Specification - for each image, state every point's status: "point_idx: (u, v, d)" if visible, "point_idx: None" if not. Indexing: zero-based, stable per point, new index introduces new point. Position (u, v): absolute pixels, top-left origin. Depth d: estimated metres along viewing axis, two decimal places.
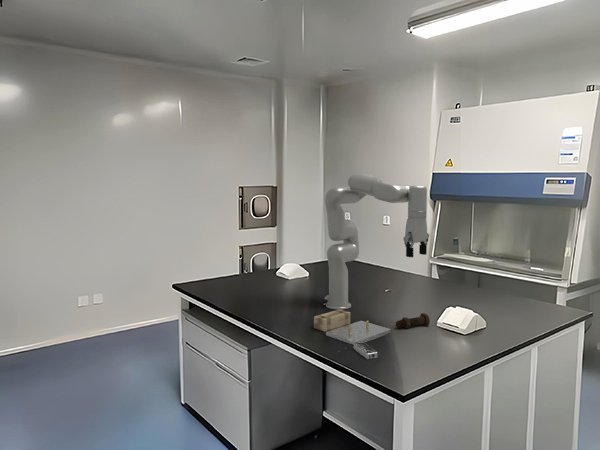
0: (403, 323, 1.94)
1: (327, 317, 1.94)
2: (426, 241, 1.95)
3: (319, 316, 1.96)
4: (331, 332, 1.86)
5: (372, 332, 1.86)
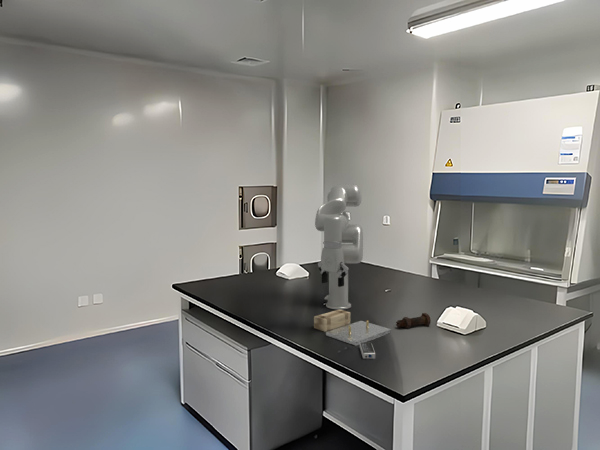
0: (404, 323, 1.94)
1: (327, 317, 1.94)
2: None
3: (319, 316, 1.96)
4: (331, 332, 1.86)
5: (372, 332, 1.86)
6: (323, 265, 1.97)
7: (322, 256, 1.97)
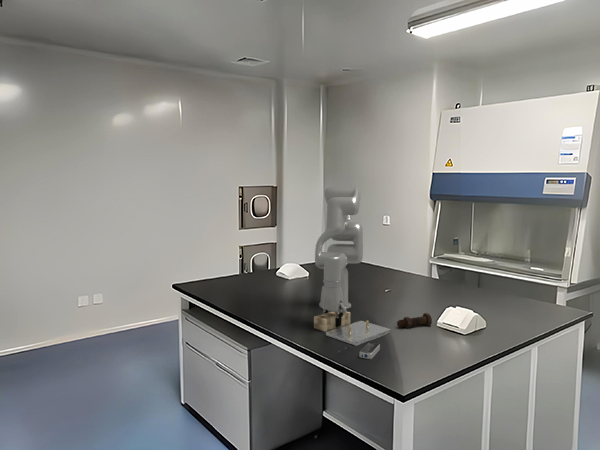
0: (404, 322, 1.95)
1: (327, 317, 1.94)
2: None
3: (319, 316, 1.96)
4: (331, 332, 1.86)
5: (372, 332, 1.86)
6: (323, 303, 1.99)
7: (322, 294, 1.99)
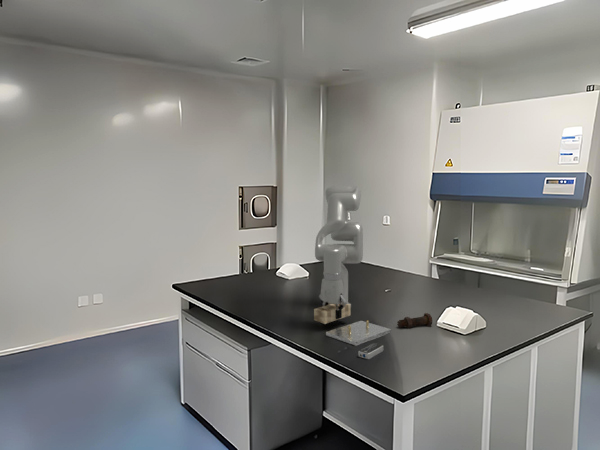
0: (405, 322, 1.95)
1: (327, 309, 1.95)
2: None
3: (319, 308, 1.96)
4: (331, 332, 1.86)
5: (372, 332, 1.86)
6: (323, 296, 1.99)
7: (322, 287, 1.99)
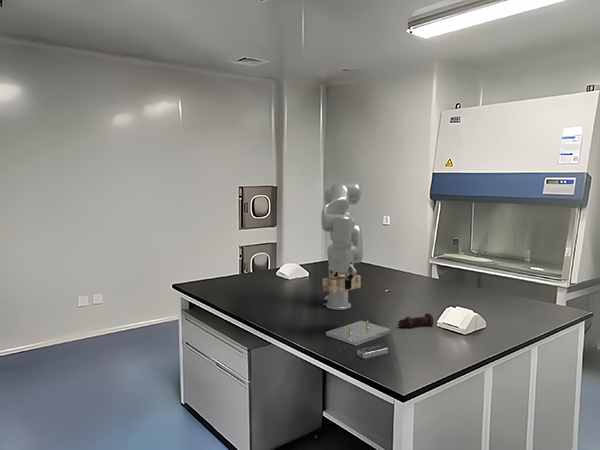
0: (405, 322, 1.95)
1: (336, 279, 1.88)
2: (337, 272, 1.96)
3: (328, 278, 1.90)
4: (331, 332, 1.86)
5: (372, 332, 1.86)
6: (332, 266, 1.93)
7: (331, 257, 1.93)
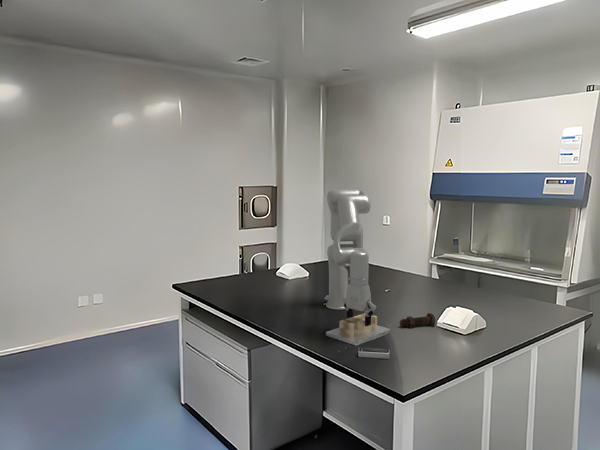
0: (407, 322, 1.95)
1: (354, 321, 1.83)
2: None
3: (345, 320, 1.85)
4: (331, 332, 1.86)
5: (372, 332, 1.86)
6: (349, 302, 1.87)
7: (348, 293, 1.87)
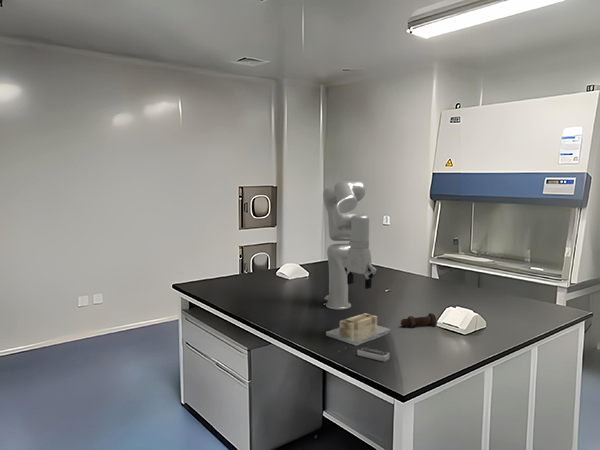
0: (408, 322, 1.96)
1: (354, 321, 1.83)
2: None
3: (345, 320, 1.85)
4: (331, 332, 1.86)
5: (372, 332, 1.86)
6: (349, 266, 1.89)
7: (348, 256, 1.89)
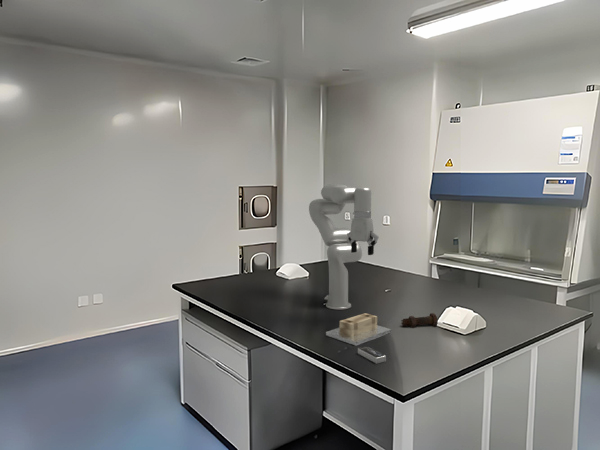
0: (408, 321, 1.96)
1: (354, 321, 1.83)
2: (355, 239, 2.09)
3: (345, 320, 1.85)
4: (331, 332, 1.86)
5: (372, 332, 1.86)
6: (353, 235, 2.04)
7: (352, 226, 2.04)
